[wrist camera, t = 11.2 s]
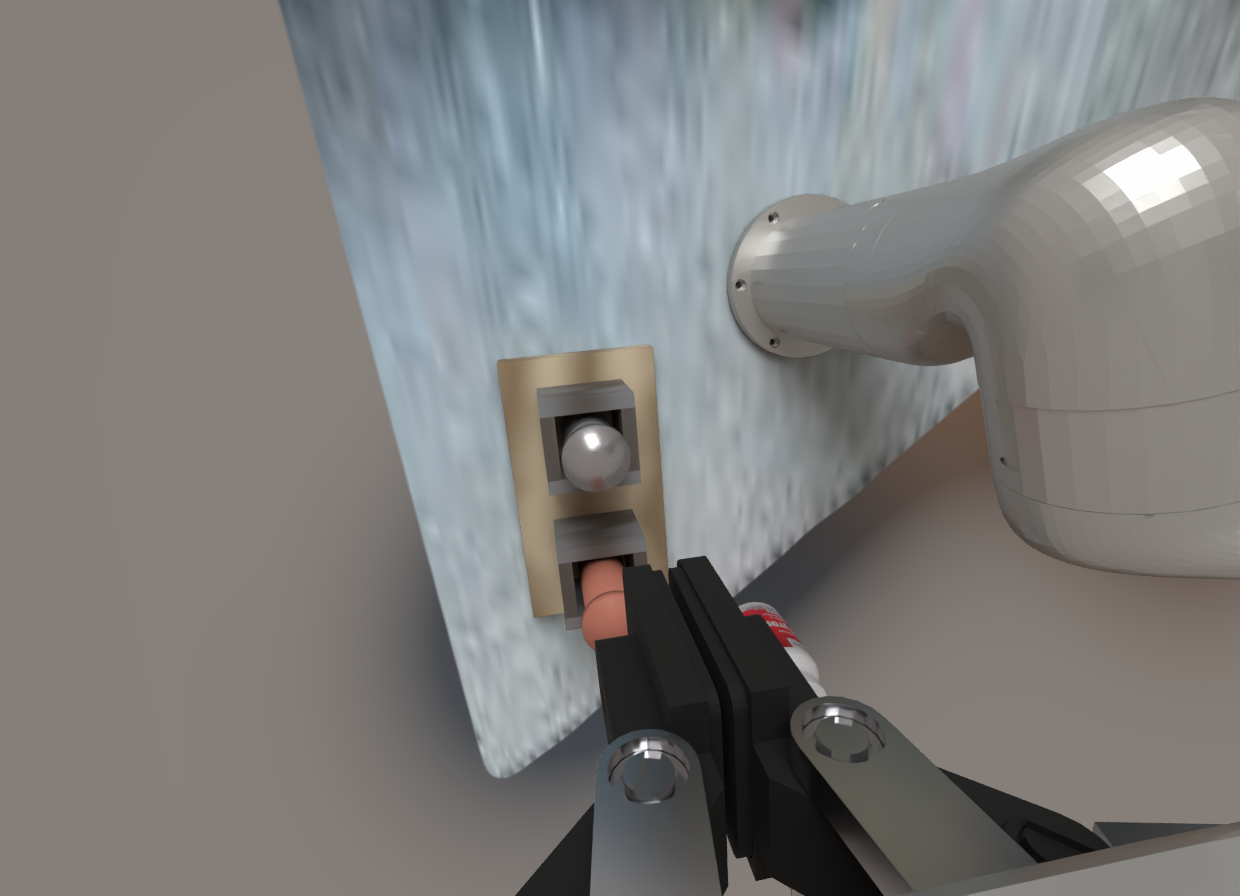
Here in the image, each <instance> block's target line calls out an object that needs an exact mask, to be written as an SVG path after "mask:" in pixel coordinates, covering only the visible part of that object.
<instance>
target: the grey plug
mask: <svg viewBox="0 0 1240 896" xmlns="http://www.w3.org/2000/svg"><path fill="white" fill-rule="evenodd" d="M561 430H562V435H563V440H564V446H563V449H562V455H561V458H562V465H563V470H564V473H565V475H566V476H567V478H568V479H569V481H570V482H571V483H572V484H573V485H575V486H576V487H578V488H579V489H582V490H584V491H588V492H603V491H606V490H609V489H611V488H613V487H615V486H616V485H618V484H619V483H620V482H621V481H622V480H623V479H624V477H625V476H626V474H627V472H628V470H629V467H630V462H631V454H630V449H629V446H628V444H627V442H626V441H625V439H624V437H623V436H622V435H621V434H620V433H619V432H618V431H617V430H616V429H614V428H613V427H611V426H610V425H609V423H608V421H607V419H606V417H605V416H604V414H603V413H602V411H599V412H590V413H581V414H573V415H564V417H563V420H562V423H561Z"/></svg>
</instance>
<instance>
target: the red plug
mask: <svg viewBox="0 0 1240 896" xmlns="http://www.w3.org/2000/svg"><path fill="white" fill-rule="evenodd" d="M622 568H625V566H624V563H623V560H622V557H621V555H618V556H611V557H604V558H597V559H590V560H584V561H579V562H578V570H579V576H580V582H581V588H582V593H583V599H584V605H585V610H584V612H583V615H582V630H583V635H584V638H585V640H586V642H587V643H588V645H589V646H590V647H591V648H592V649H594V650H595V640H601V639H607V638H613V637H619V636H625V635H628V632H627V621H626V610H625V599H624V589H623V578H622Z"/></svg>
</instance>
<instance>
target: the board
mask: <svg viewBox="0 0 1240 896" xmlns="http://www.w3.org/2000/svg"><path fill="white" fill-rule="evenodd" d="M497 367H498V374H499V381H500V388H501V395H502V402H503V409H504V416H505V422H506V429H507V436H508V443H509V450H510V457H511V464H512V471H513V477H514V484H515V491H516V498H517V505H518V512H519V519H520V526H521V532H522V539H523V546H524V553H525V560H526V567H527V574H528V581H529V587H530V594H531V601H532V608H533V615H534V618H536V617H543V616H549V615H555V614H562V613H564V614H565V622H566V630H573V629H579V628H582V615H583V612H584V610H585V605H584V599H583V593H582V588H581V582H580V576H579V570H578V562H579V561H584V560H590V559H597V558H604V557H611V556H618V555H621V557H622V560H623V563H624V566H625V568H626V567H633V566H640V565H646V564H650V566H651V568H652V570H653V571H655V570H662V572H663V574H664V576H665V578H666V581H667V583H668V585H669V579H668V562H667V547H666V532H665V518H664V503H663V488H662V473H661V459H660V444H659V429H658V415H657V400H656V385H655V370H654V356H653V347H652V346H650V345H638V346H628V347H619V348H609V349H599V350H590V351H580V352H571V353H561V354H551V355H542V356H532V357H522V358H513V359H503V360H498V362H497ZM599 411H602V413H603V414H604V416H605V417H606V419H607V421H608V423H609V425H610V426H611V427H613V428H614V429H616V430H617V431H618V432H619V433H620V434H621V435H622V436H623V437H624V439H625V441H626V442H627V444H628V446H629V449H630V454H631V462H630V467H629V470H628V472H627V474H626V476H625V477H624V479H623V480H622V481H621V482H620V483H619V484H618V485H616V486H615V487H613V488H611V489H609V490H606V491H603V492H588V491H584V490H582V489H579V488H578V487H576V486H575V485H573V484H572V483H571V482H570V481H569V479H568V478H567V476H566V475H565V473H564V470H563V465H562V458H561V455H562V449H563V446H564V440H563V435H562V430H561V423H562V420H563V417H564V415H573V414H581V413H590V412H599Z"/></svg>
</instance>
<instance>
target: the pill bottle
mask: <svg viewBox="0 0 1240 896" xmlns="http://www.w3.org/2000/svg"><path fill="white" fill-rule="evenodd" d="M738 607H739V609H740V610H741V612H742V613H743V615H744V616H748V615H754V614H759V615H761V616H762V617H763V618H764V619H765V621H766V622H767V624H768V625H769V627H770V628H771V630H772V631H773V632H774V634H775V635H776V637H777V638H778V640H779V641H780V642H781V644H782V645H783V647H784V648H785V650H786V651H787V653H788V654H789V655H790V657H791V658H792V660H793V661H794V663H795V664H796V666H797V667H798V668H799V670H800V671H801V673H802V674H803V676H804V677H805V679H806V680H807V681H808V683H809V684H810V686H811V687H812V689H813V690H814V692H815V693H816V694H817V696H818V697H824V696H827V695H826V693H825V691H824V689H823V688H822V686H821V684H820V683H819V672H818V668H817V666H816V664H815V662H814V660H813V659H812V657H811V656H810V655H809V653H808V652H807V651H806V649H805V648H804V647H803V645H802V644H801V643H800V641H799V640H798V638H797V637H796V636H795V634H794V633H793V632H792V630H791V629H790V628H789V626H788V625H787V624H786V622H785V621H784V620H783V618H782V617H781V616H780V614H779V613H778V612H777V611H776V610H775V609H774V608H773V607H771V606H770V605H767V604H765V603H760V602H750V603H746V604H743V605H740V606H738Z"/></svg>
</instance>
